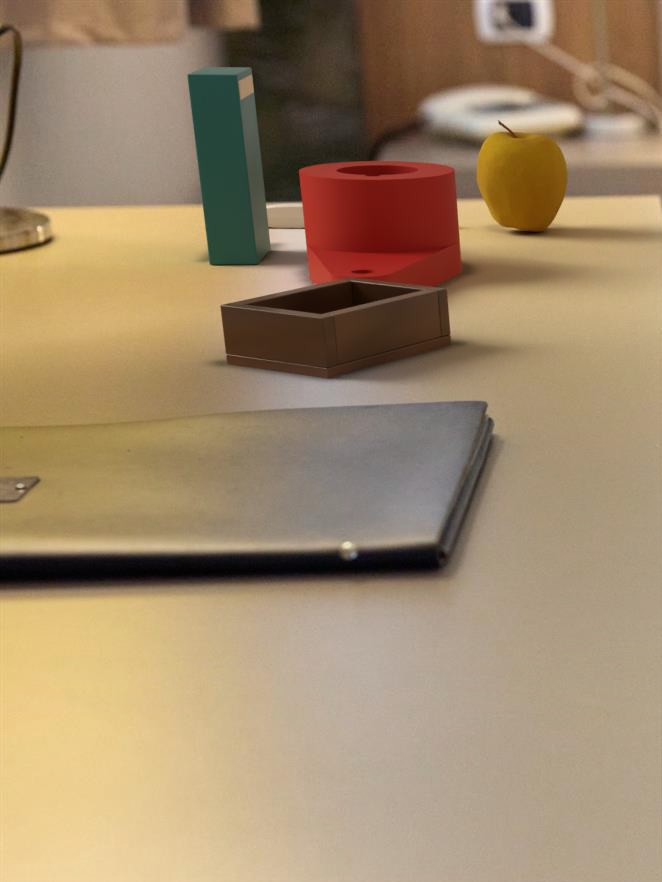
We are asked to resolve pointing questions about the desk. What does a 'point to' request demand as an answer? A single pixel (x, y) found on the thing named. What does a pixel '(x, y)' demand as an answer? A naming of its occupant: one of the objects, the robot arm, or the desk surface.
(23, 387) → the desk surface
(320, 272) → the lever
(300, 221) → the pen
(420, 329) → the box
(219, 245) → the box
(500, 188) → the apple
